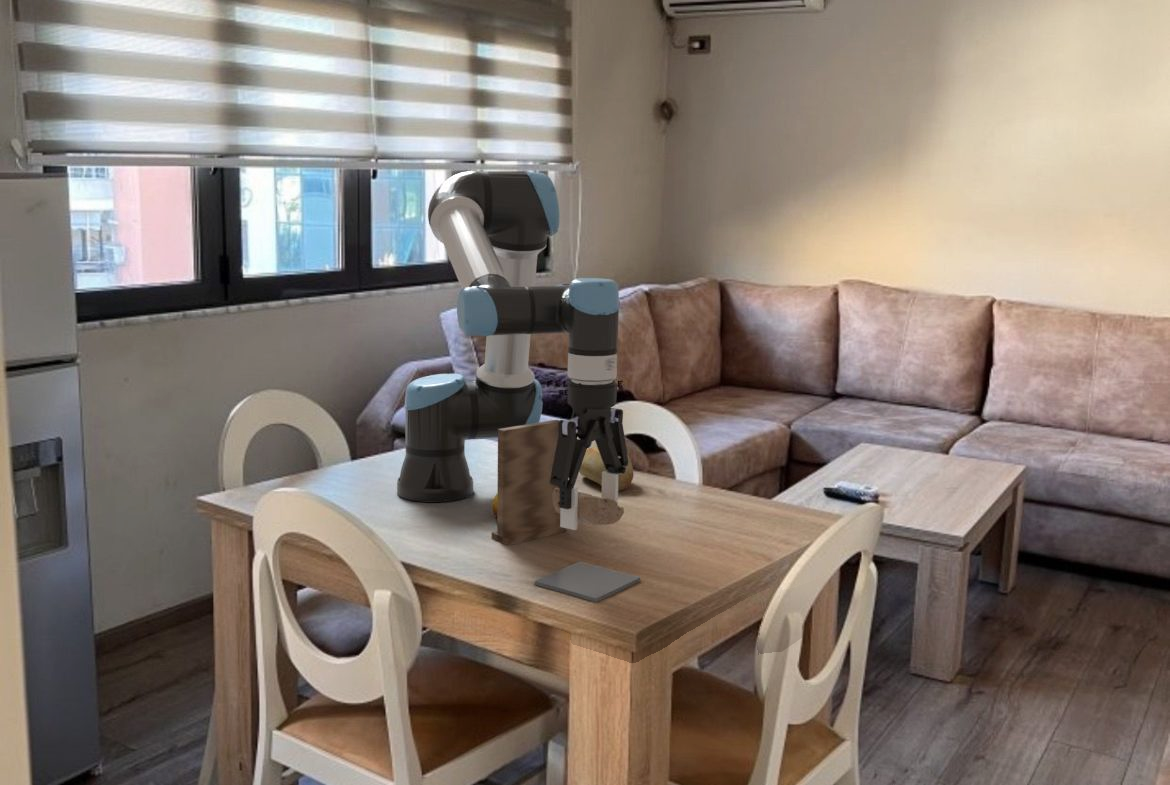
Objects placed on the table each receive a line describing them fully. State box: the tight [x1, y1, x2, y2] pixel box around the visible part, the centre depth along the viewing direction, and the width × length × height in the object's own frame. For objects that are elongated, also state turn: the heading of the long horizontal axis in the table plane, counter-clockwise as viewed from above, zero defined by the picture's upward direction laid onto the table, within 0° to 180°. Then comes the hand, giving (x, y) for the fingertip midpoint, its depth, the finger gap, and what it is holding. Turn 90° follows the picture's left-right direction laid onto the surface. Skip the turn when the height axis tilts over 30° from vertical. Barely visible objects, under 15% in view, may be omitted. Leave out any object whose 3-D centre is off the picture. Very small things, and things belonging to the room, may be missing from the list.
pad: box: [533, 561, 642, 603], centre depth 186 cm, size 12×12×1 cm
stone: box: [552, 488, 625, 526], centre depth 184 cm, size 9×11×5 cm
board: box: [491, 419, 567, 546], centre depth 207 cm, size 13×5×20 cm, turn 131°
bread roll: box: [578, 445, 635, 492], centre depth 243 cm, size 10×15×8 cm, turn 35°
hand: (589, 520), depth 184 cm, fingers closed on stone, 10 cm apart
